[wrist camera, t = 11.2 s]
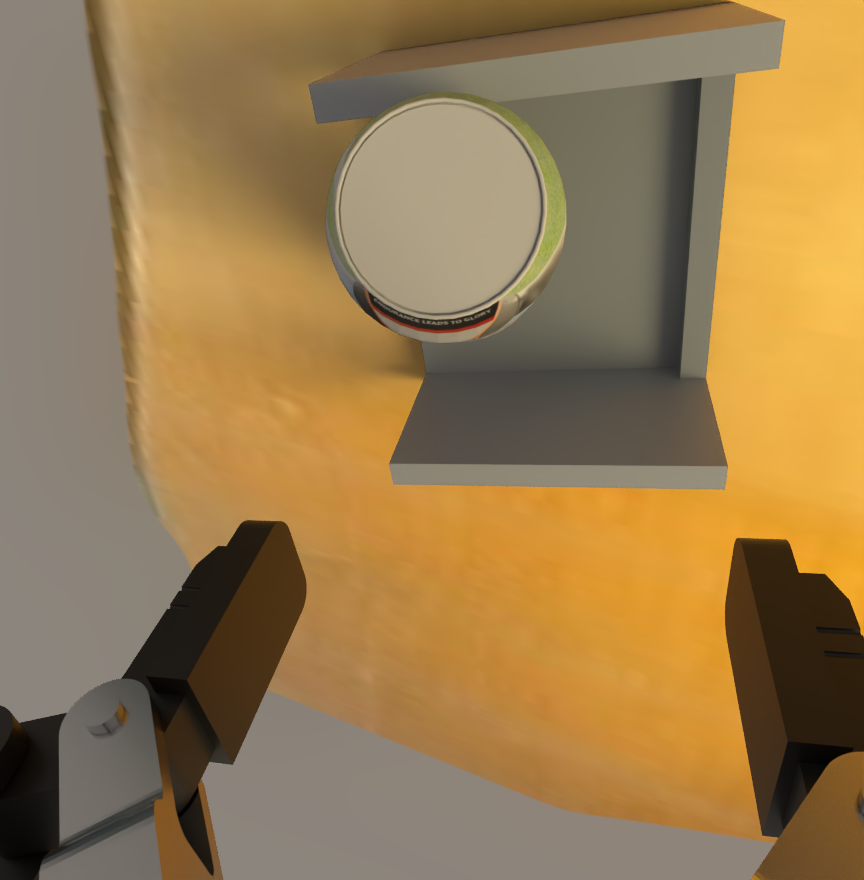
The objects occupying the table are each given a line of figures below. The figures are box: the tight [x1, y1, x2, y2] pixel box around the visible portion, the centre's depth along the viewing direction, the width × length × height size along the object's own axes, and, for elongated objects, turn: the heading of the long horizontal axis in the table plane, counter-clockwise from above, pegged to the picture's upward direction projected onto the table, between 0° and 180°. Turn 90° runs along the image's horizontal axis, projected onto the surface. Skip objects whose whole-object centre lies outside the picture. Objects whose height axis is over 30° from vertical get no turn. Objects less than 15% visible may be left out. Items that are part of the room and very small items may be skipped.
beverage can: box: [326, 92, 566, 343], centre depth 21 cm, size 6×7×12 cm
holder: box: [309, 2, 785, 490], centre depth 24 cm, size 14×12×8 cm
